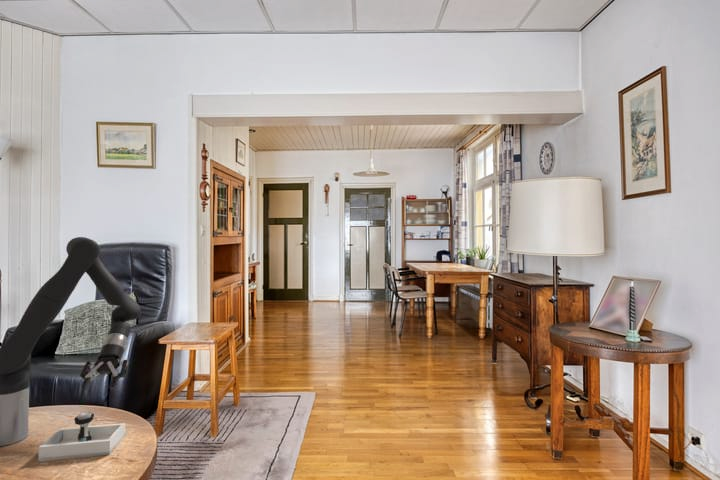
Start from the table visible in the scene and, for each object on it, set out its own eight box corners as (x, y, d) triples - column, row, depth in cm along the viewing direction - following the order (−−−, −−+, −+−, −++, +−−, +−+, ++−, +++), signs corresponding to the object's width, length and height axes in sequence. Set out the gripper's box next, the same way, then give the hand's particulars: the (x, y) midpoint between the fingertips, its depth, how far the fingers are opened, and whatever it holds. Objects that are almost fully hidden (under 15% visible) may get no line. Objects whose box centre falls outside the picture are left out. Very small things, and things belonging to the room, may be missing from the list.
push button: (98, 443, 124) (99, 413, 124) (80, 450, 120) (81, 419, 120) (88, 438, 127) (89, 409, 128) (70, 445, 123) (71, 415, 123)
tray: (38, 461, 115) (38, 447, 115) (61, 441, 127) (61, 428, 127) (109, 454, 119) (109, 440, 119) (125, 435, 131) (125, 423, 131)
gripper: (89, 343, 139) (71, 385, 128) (131, 342, 142) (117, 382, 131) (96, 353, 144) (79, 394, 133) (136, 352, 147) (123, 392, 136)
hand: (98, 388), depth 132 cm, fingers open, 8 cm apart
